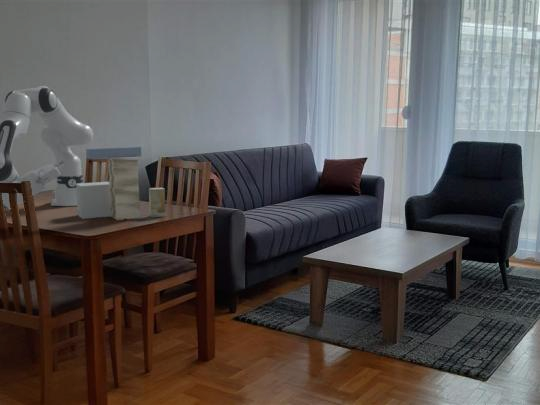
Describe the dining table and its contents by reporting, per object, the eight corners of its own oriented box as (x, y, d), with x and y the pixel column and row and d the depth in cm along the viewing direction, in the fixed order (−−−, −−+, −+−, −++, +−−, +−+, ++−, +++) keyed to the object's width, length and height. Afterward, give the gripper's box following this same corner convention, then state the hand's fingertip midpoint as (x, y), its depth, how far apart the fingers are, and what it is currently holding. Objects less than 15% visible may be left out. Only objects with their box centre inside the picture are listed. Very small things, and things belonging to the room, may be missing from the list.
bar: (86, 158, 257) (86, 148, 257) (138, 156, 268) (138, 146, 267) (88, 159, 254) (88, 149, 253) (141, 156, 264) (141, 147, 263)
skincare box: (151, 217, 266) (150, 189, 264) (149, 216, 270) (148, 188, 268) (166, 216, 268) (165, 188, 266) (163, 214, 272) (162, 187, 270)
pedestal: (109, 216, 269) (106, 156, 265) (134, 214, 274) (132, 155, 270) (115, 220, 259) (112, 158, 255) (141, 218, 264) (139, 157, 260)
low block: (77, 215, 273) (75, 183, 271) (109, 212, 279) (108, 181, 277) (82, 218, 264) (80, 186, 262) (115, 215, 270) (113, 184, 268)
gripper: (33, 176, 237) (65, 157, 242) (27, 172, 255) (57, 154, 260) (43, 190, 239) (74, 171, 244) (36, 185, 257) (65, 167, 262)
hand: (65, 162), depth 252 cm, fingers open, 8 cm apart
